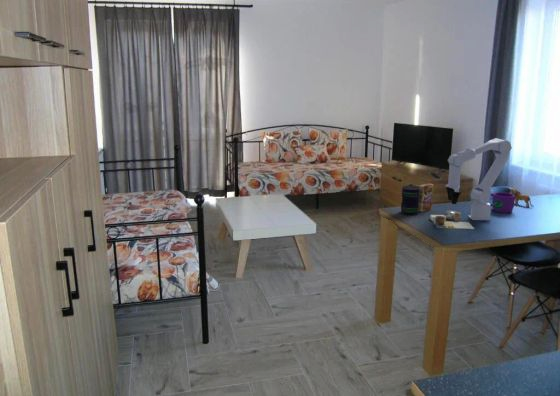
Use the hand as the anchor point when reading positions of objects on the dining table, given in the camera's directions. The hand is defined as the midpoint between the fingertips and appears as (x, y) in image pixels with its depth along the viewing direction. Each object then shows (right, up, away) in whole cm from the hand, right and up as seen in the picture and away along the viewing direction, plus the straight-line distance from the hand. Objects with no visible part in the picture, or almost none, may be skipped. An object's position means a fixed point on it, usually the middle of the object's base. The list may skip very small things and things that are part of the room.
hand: (452, 202), depth 250 cm
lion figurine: (+52, -2, +31) cm, 60 cm away
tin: (+1, -9, +6) cm, 11 cm away
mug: (+33, -5, +20) cm, 39 cm away
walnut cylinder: (-9, -12, -6) cm, 16 cm away
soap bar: (-7, -10, +3) cm, 12 cm away
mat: (-2, -12, -7) cm, 14 cm away
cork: (+3, -10, 0) cm, 11 cm away
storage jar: (-19, -7, +15) cm, 25 cm away
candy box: (-9, -5, +21) cm, 23 cm away
